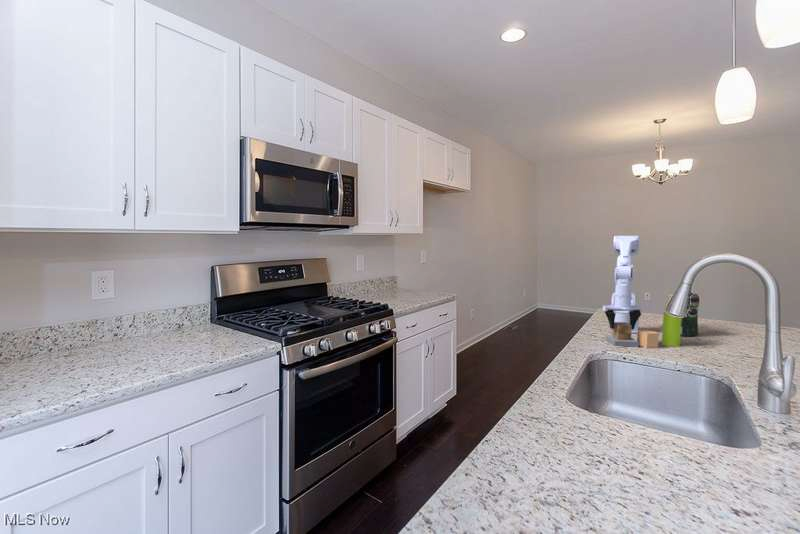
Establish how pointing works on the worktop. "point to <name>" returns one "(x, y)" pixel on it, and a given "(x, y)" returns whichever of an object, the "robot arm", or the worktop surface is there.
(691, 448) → the worktop surface
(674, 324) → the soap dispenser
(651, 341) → the orange faceted block
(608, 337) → the gray slab
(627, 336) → the walnut cube
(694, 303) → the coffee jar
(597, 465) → the worktop surface
